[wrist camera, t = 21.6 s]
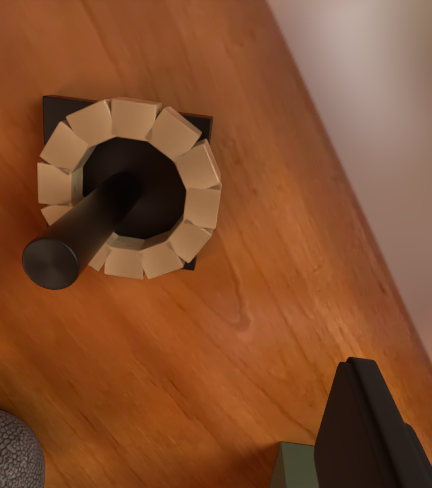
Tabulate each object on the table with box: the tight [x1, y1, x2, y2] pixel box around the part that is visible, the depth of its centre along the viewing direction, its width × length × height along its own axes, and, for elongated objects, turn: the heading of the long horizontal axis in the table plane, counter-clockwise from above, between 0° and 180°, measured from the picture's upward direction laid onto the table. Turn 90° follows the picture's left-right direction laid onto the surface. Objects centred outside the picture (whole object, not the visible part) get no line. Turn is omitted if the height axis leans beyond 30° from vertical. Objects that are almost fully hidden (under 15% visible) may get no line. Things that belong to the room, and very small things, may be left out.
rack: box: [22, 95, 213, 290], centre depth 19 cm, size 9×9×11 cm
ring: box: [37, 97, 222, 280], centre depth 23 cm, size 10×10×2 cm
